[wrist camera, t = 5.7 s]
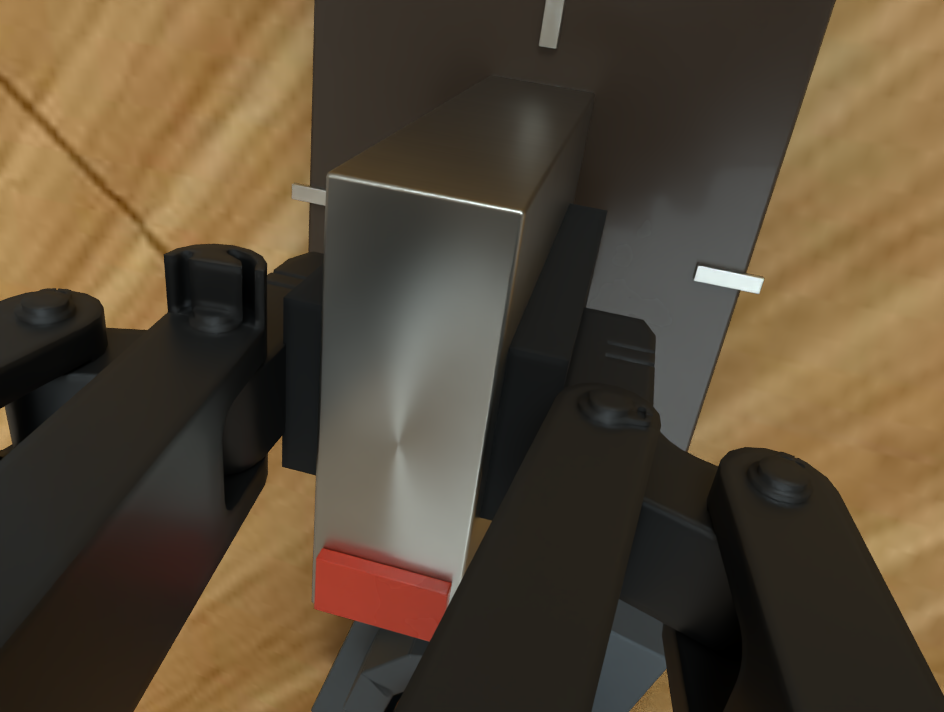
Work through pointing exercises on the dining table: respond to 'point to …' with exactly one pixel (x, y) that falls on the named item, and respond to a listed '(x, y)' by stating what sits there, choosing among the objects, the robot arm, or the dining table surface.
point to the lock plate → (603, 135)
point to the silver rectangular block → (428, 338)
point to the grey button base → (397, 655)
